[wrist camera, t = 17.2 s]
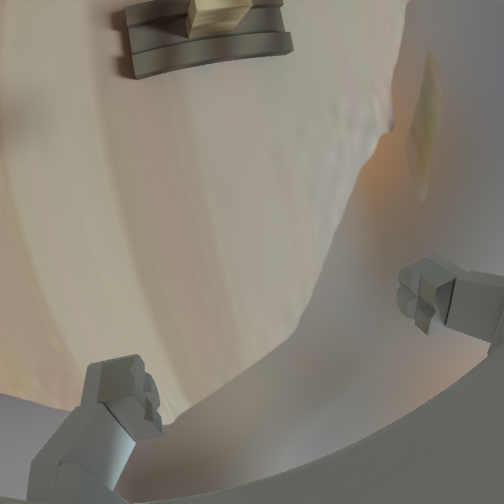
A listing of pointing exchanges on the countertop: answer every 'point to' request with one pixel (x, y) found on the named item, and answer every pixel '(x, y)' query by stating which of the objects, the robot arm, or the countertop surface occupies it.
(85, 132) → the countertop surface
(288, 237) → the countertop surface
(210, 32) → the wooden block
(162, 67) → the bridge
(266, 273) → the countertop surface
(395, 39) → the countertop surface
